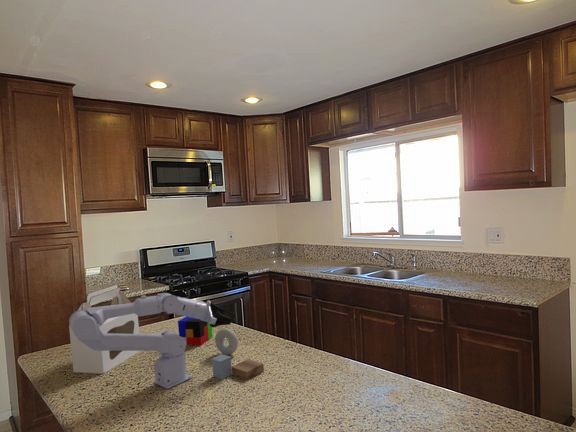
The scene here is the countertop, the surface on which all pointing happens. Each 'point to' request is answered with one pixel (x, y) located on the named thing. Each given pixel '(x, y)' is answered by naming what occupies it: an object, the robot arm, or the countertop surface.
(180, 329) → the puzzle toy
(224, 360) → the grey block
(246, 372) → the walnut block
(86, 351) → the gable box
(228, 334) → the donut
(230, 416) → the countertop surface
